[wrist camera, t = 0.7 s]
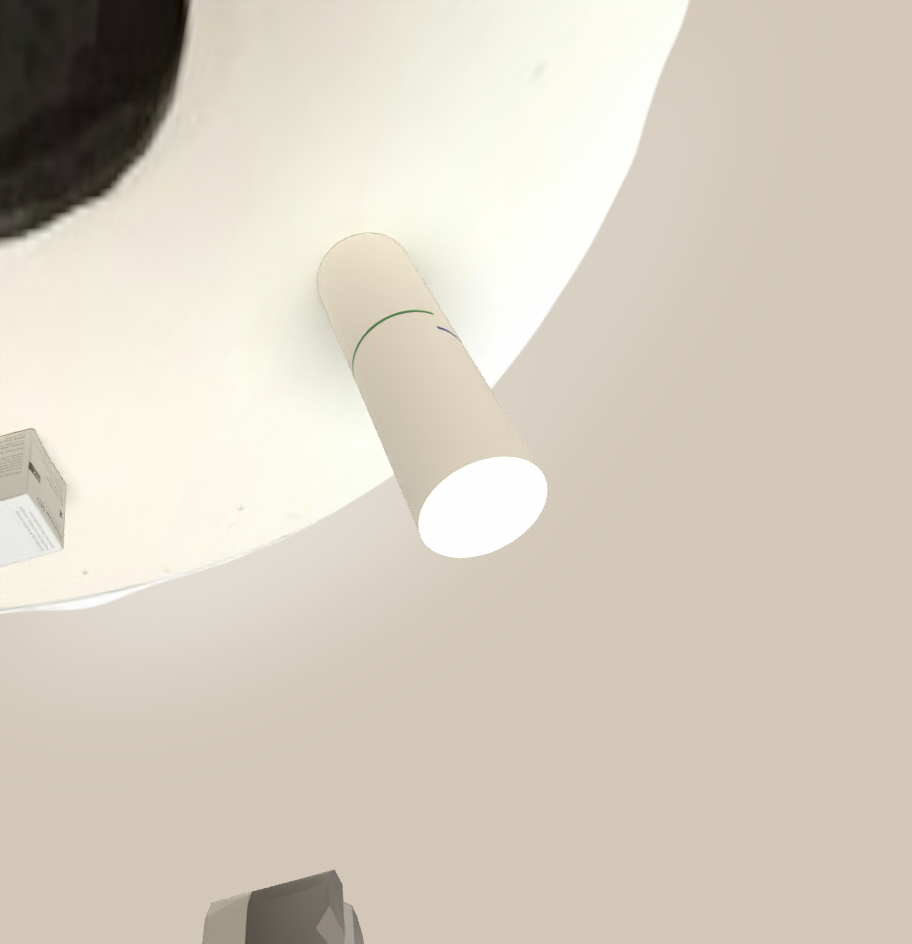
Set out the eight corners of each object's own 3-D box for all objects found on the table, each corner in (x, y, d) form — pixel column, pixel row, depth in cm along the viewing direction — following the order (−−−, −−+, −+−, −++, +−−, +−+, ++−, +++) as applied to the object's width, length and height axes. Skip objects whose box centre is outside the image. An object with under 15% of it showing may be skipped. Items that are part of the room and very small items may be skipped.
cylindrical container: (376, 335, 62) (489, 569, 45) (298, 296, 58) (391, 539, 40) (430, 261, 59) (573, 481, 42) (352, 215, 55) (477, 438, 38)
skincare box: (67, 483, 62) (66, 551, 57) (-15, 506, 61) (-23, 577, 56) (32, 425, 57) (28, 493, 52) (-57, 448, 56) (-70, 519, 51)
